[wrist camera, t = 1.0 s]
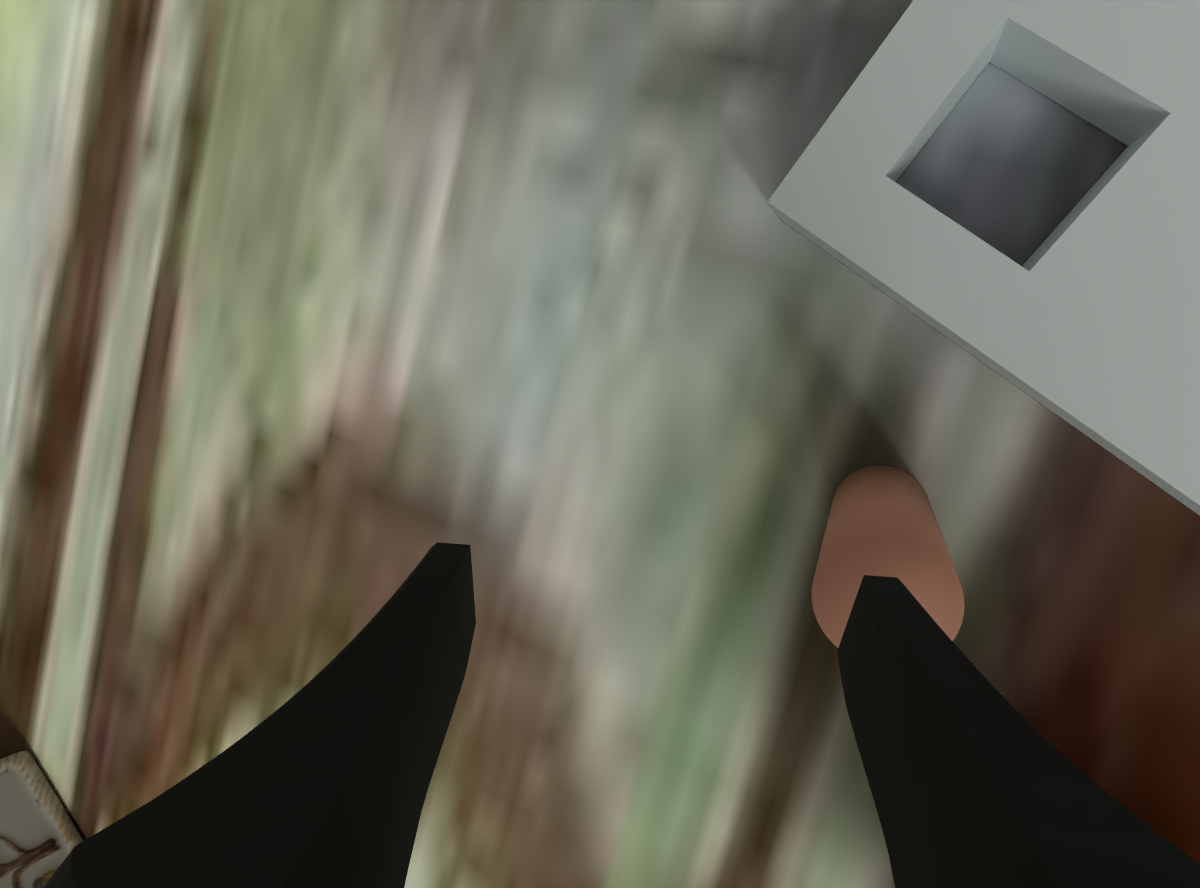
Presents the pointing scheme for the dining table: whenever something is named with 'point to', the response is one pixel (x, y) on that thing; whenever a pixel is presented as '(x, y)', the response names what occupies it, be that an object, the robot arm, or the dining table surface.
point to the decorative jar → (31, 825)
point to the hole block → (1075, 247)
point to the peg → (884, 549)
